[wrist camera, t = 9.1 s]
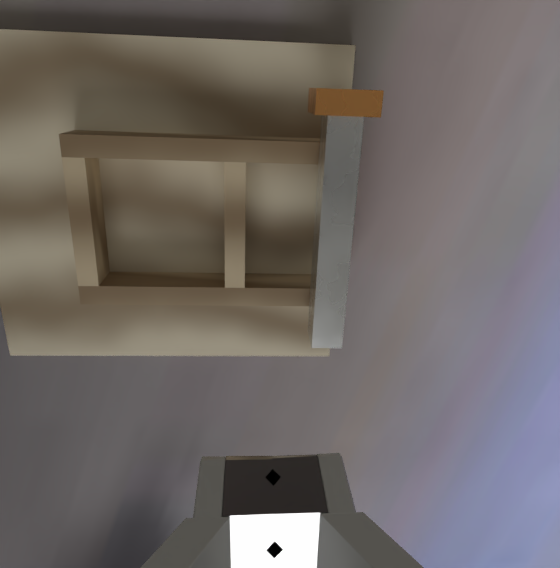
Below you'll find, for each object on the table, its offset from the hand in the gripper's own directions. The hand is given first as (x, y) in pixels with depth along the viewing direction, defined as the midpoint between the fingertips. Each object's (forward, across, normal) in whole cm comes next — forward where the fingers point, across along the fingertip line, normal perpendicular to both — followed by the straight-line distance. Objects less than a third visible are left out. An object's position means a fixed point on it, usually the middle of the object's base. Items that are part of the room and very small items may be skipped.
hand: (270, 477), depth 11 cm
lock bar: (+19, +4, +1) cm, 20 cm away
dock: (+23, -6, 0) cm, 23 cm away
